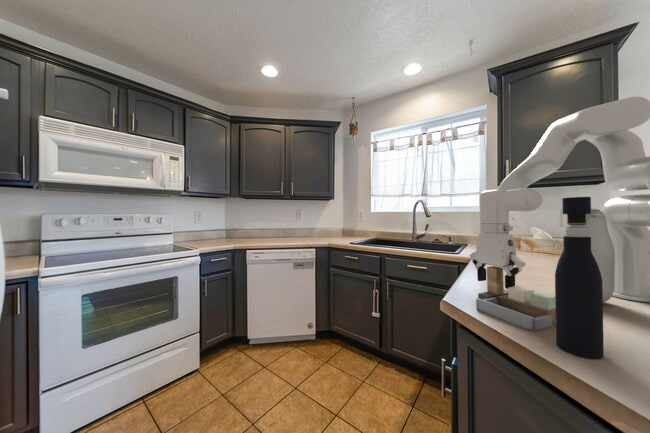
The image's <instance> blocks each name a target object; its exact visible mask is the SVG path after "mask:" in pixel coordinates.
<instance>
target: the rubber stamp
mask: <svg viewBox="0 0 650 433" xmlns="http://www.w3.org/2000/svg"><path fill="white" fill-rule="evenodd" d="M486 284H487V287H486V288H487V291H485V292H480V293H479V292H478V294H477V298H479V299H482V300H483V299H489V298H497V302H498V296H503V295H508V289H507V290H506V289H504V288H505V286H504V269H503V267H499V266H494V265H490V266H487V267H486Z"/></svg>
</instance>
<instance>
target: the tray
mask: <svg viewBox="0 0 650 433" xmlns="http://www.w3.org/2000/svg"><path fill="white" fill-rule="evenodd" d="M475 301H476V302H475V303H476V305H475V306H476V308H475V309H476V310H478V311H479V312H482V313H485V314H487V315H491V316H493V317H496V318H498V319H500V320H503V321H505V322H508V323H511V324H513V325H516V326H517V327H521V328H523V329H525V330H528V331H530V332H535V331H540V330H543V329H547V328H551V327H553V323H552V316H550V315H546V316H541V317H537V318H534V317H531V316H528V315H525V314H522V313H519V312H517V311H514V310H511V309H508V308H505V307H502V306H499V305H498V301H497V298H489V299H483V300H482V299H479V298H478V297H477V298H476V299H475Z"/></svg>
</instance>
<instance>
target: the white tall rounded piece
mask: <svg viewBox="0 0 650 433" xmlns="http://www.w3.org/2000/svg"><path fill="white" fill-rule="evenodd" d="M586 223H587V224H586V225H568V226H567V227H588V230H589V231H588V233H589V235H588V237H591V252H592V254H593V256H594V258H595V260H596V262H597V264H598V266H599V269H600V273H601V276H602V285H603V303H605V302H608V301H609V300H610V299H611V298H612V297H613V296H612V295H613V293H614V287H615V252H614V246H613V243H612V240H611V238H610V235H609V232H608V227H607V222H606V217H605V215H604V213H603V212H602V210H600V209H598V208H593V207H591V214H586ZM563 250H564V248H562V251H563Z"/></svg>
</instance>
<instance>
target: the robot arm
mask: <svg viewBox="0 0 650 433" xmlns="http://www.w3.org/2000/svg"><path fill="white" fill-rule="evenodd" d="M649 120H650V100H649V99H648V98H646V97H642V96H630V97H625V98H621V99H618V100H614V101H610V102H606V103H602V104H598V105H594V106H590V107H587V108H584V109H581V110H579V111H576V112H574V113H572V114H569V115H566V116H564V117H561V118H560V119H558V120H556V121H554V122H553V123H551V124H550V126H549V127H548V128H547V130H546V131H545V133H543V135H542V137H541V139H540V140H539V141H538V143H537V144H536V146H535V147H534V149H533V150H532V152H531V153H530V155H529V156H528V157H527V158H526V159H525V160H524V161H522V162H521V163H520V164H518V165H517V167H516V168H515V169H513V170H512V171H511V172H510V173H509V174H508V175H507V176H506V177H505V178H504V179H503V180H502V182H500V184H499V186H498V187H497V189H490V190H489V189H488V190H483V191H481V192H480V193H479V232H478V236H477V239H476V250H475V251H474V252H471V253H470V254H469V257H470V259H471V261H472V263H473V265H474V266H475V270H476V269H477V270H476V271H477V272H476V273H477V275H476V276H477V281H478V282H484V281H487V267H486V266H487V265H489V266H496V267H501V268H503V271H504V273H505V275H504V288H505V290H506V289H507V290H508V287H514V286H516V276H517V275H518V274H519V273H520V272H522V271H523V270H522V269H523V268H524V267H525V266H526V262H524V261H523V259H521V258H519V257H518V256H517V249H516V248H517V247H516V243H515V240H514V239H515V238H514V236H513V234H512V233H510V232H511V231H514V230H513V229H514V227H513V226H512V225H510V214H511V213H512V214H513V213H515V214H520V213H521V214H522V213H523V214H524V213H525V214H526V213H531V212H534V211H536V210H538V209H539V208H540V207H541V206H542V204H543V196H542V194H541V193H540V192H539V191H538V190H536V189H533V188H528V187H529V186H530V185H532V184H534V183H535V182H537V181H540V180H541V179H544V178H546V177H547V176H549V175H551V174H553V173H555V172H557V171H558V170H560V168H561V167H562V166H563V164H564V163H565V161H566V160H567V158H568V156H569V155H570V153H571V152H572V151H573V150H574V148H575V146H576V145H577V144H578V143H579V142H582V141H584V140H585V141H586V142H589V143H591V144H592V145H594V146H595V147H596V148H597V150H598V151H599V153H600V157H601V163H602V165H601V166H602V170H603V178H604V181H605V185H606V187H607V189H609V190H611V191H615V192H634V191H647V190H650V156H647V155H646V152H645V147H644V143H643V140H642V139H641V138H640V137H639V136H638V134H636V133H634V132H633V131H631V129H634V128H638V127H640V126H642V125H644V124H645V123H646V122H648V121H649ZM601 212H603V213H604V215H605V217H606V222H607V227H608V232H609V235H610V238H611V240H612V243H613V246H614V252H615V287H614V293H613V295H612V297H615V298H619V299H623V300H630V301H635V302H643V303H650V229H649V228H648V227H650V193H647V194H643V193H642V194H629V195H628V194H626V195H620V196H616V197H612V198H610V199H608V200H607V201H605V202H604V204H603V205H602V208H601ZM485 267H486V268H485Z"/></svg>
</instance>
